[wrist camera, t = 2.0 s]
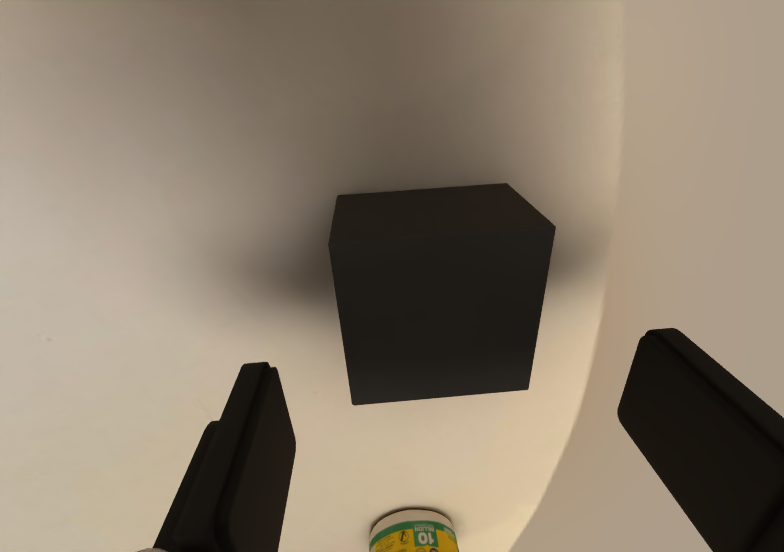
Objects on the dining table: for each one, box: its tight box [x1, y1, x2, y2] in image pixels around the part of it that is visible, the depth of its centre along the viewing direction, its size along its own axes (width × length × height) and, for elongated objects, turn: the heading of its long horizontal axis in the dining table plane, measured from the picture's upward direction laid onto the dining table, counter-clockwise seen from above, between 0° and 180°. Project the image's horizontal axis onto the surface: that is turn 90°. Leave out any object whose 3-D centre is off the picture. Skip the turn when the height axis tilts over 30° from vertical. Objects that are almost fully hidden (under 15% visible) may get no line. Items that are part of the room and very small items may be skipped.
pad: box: [328, 183, 556, 405], centre depth 13 cm, size 6×6×4 cm
